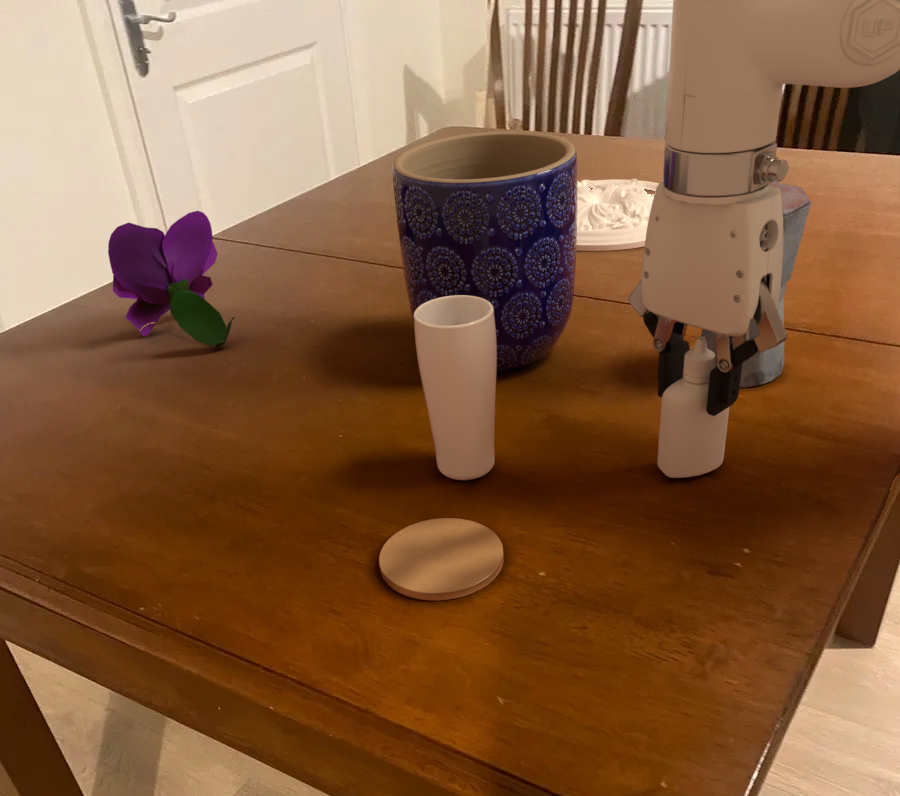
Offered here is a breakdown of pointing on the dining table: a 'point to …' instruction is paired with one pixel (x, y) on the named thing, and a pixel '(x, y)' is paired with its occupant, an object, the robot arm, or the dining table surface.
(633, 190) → the ceiling medallion
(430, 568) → the cork trivet
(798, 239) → the moka pot
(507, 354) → the planter
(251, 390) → the dining table surface
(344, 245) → the dining table surface
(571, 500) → the dining table surface
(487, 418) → the drinking glass
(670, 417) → the eye dropper bottle
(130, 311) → the flower
